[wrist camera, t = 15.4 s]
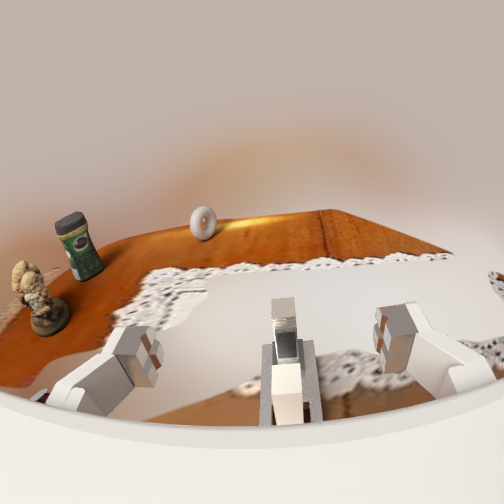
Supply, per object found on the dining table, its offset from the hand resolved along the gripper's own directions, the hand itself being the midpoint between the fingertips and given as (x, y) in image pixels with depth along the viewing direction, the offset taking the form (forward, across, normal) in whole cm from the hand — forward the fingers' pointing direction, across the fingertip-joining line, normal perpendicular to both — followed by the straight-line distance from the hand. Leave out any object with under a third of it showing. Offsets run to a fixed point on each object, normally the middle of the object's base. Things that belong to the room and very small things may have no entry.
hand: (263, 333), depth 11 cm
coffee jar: (+60, +56, +30) cm, 87 cm away
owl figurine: (+38, +57, +30) cm, 75 cm away
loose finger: (+12, 0, +30) cm, 32 cm away
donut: (+74, +22, +30) cm, 83 cm away
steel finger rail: (+19, 0, +30) cm, 35 cm away
